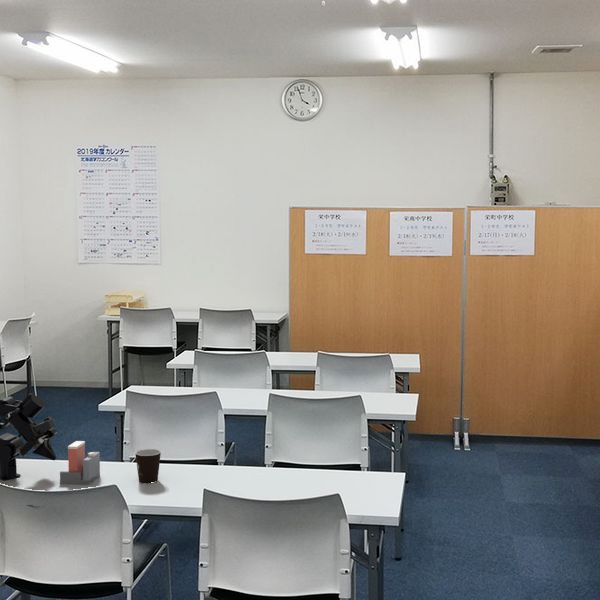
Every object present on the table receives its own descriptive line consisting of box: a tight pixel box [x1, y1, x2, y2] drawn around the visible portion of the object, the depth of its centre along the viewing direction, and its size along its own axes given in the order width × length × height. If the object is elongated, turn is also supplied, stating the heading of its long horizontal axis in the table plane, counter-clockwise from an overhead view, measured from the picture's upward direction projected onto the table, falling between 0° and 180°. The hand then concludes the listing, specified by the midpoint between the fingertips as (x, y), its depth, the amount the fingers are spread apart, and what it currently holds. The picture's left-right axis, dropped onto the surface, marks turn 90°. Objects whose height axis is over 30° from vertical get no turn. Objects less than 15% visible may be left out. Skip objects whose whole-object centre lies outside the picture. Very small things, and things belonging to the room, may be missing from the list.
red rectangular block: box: [67, 440, 86, 474], centre depth 265 cm, size 3×7×11 cm, turn 174°
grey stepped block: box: [59, 451, 101, 486], centre depth 265 cm, size 10×10×10 cm
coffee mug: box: [134, 448, 162, 484], centre depth 265 cm, size 12×9×10 cm
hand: (55, 459), depth 265 cm, fingers closed
